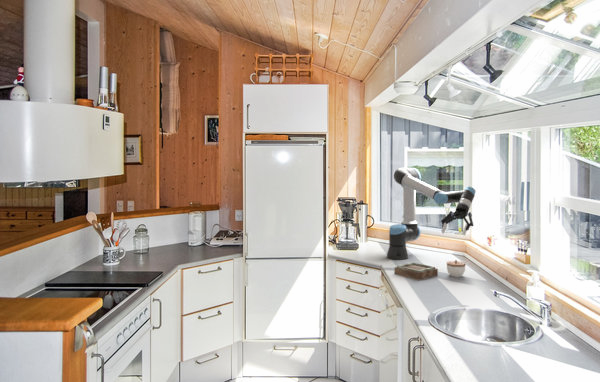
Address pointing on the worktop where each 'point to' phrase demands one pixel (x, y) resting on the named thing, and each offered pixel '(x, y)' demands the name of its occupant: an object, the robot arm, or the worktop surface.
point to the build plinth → (416, 271)
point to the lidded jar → (456, 268)
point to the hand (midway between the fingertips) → (452, 233)
